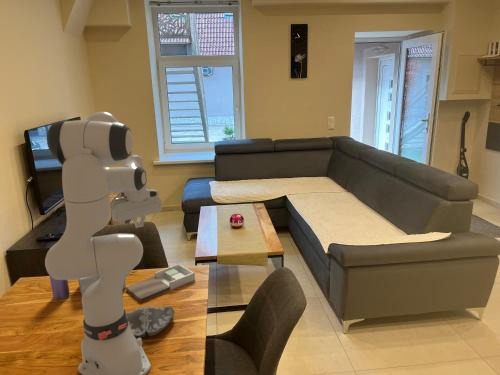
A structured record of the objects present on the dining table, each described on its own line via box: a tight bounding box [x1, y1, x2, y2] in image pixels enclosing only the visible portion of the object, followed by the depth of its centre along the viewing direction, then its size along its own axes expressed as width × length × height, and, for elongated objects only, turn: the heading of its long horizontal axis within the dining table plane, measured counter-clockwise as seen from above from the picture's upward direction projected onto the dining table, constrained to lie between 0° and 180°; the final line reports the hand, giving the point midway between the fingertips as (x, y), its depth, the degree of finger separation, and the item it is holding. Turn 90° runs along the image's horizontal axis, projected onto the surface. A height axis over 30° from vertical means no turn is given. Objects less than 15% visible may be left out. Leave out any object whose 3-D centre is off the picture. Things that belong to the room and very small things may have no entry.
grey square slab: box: [125, 276, 171, 303], centre depth 153 cm, size 13×13×2 cm
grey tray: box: [154, 263, 196, 291], centre depth 161 cm, size 12×12×4 cm
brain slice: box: [125, 305, 175, 338], centre depth 129 cm, size 20×17×3 cm
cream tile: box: [171, 273, 185, 281], centre depth 159 cm, size 4×4×2 cm
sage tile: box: [165, 269, 179, 281], centre depth 163 cm, size 4×4×2 cm
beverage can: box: [48, 274, 70, 301], centre depth 149 cm, size 6×6×15 cm
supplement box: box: [77, 275, 127, 296], centre depth 156 cm, size 17×13×9 cm
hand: (139, 226), depth 154 cm, fingers closed
